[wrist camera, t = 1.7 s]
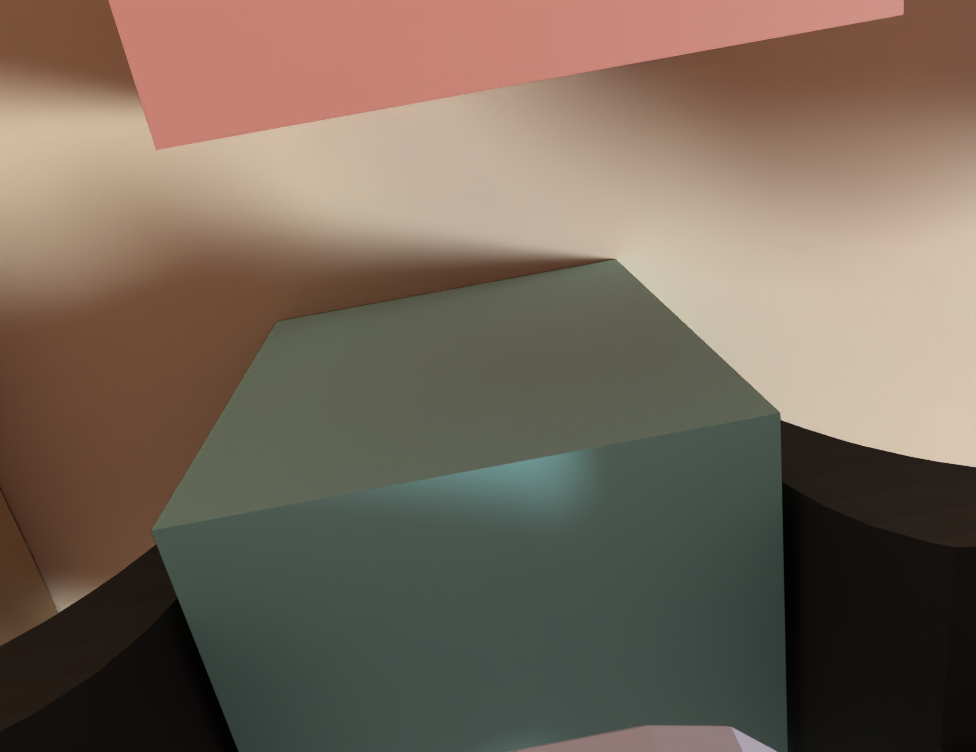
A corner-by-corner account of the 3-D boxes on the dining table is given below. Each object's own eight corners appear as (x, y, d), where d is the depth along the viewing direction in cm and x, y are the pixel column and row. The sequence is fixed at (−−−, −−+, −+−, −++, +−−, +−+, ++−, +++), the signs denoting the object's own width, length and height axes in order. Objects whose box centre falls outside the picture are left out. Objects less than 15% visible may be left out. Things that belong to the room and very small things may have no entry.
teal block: (645, 543, 14) (789, 845, 9) (356, 598, 14) (312, 938, 8) (615, 259, 12) (780, 413, 7) (277, 321, 12) (151, 530, 6)
